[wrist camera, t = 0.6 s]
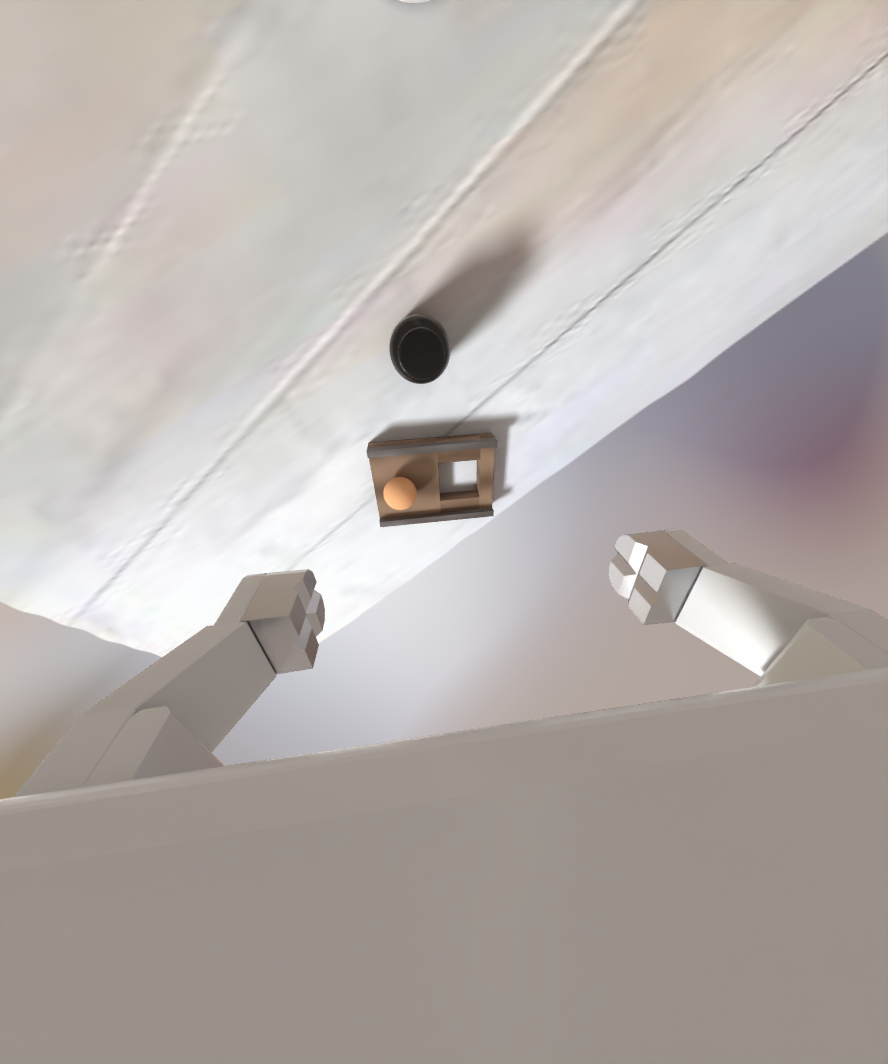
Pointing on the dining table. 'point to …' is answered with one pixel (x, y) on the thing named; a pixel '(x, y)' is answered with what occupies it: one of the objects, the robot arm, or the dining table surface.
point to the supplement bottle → (419, 349)
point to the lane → (433, 477)
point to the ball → (400, 493)
